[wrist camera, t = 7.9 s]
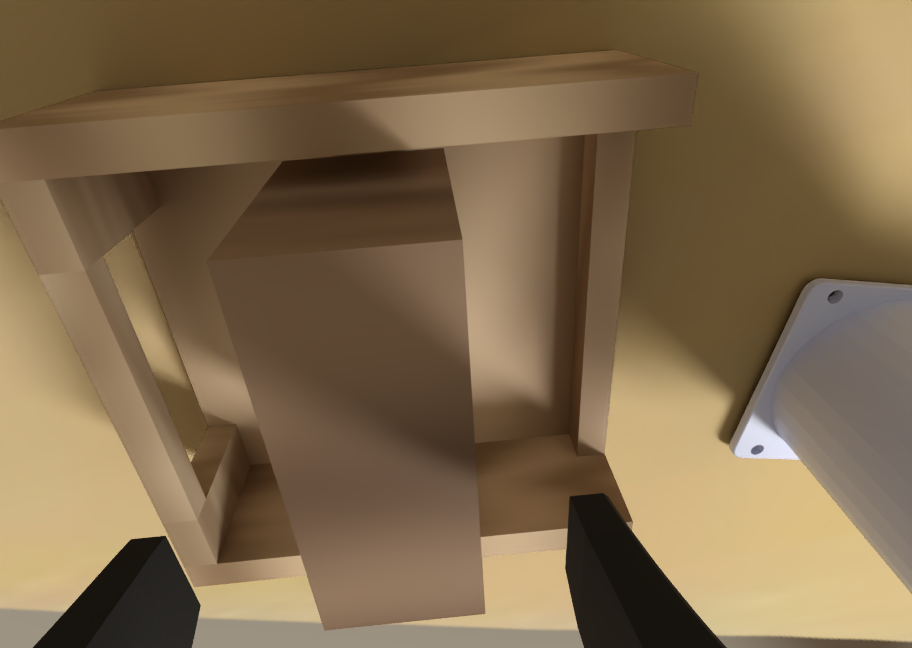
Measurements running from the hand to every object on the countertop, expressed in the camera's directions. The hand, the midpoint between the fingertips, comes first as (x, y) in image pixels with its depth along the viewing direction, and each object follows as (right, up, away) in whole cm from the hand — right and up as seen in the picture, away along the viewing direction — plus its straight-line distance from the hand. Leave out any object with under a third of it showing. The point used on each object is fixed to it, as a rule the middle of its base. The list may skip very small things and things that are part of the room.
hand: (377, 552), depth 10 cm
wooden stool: (-1, +5, +8) cm, 10 cm away
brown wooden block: (-1, +4, +6) cm, 8 cm away
